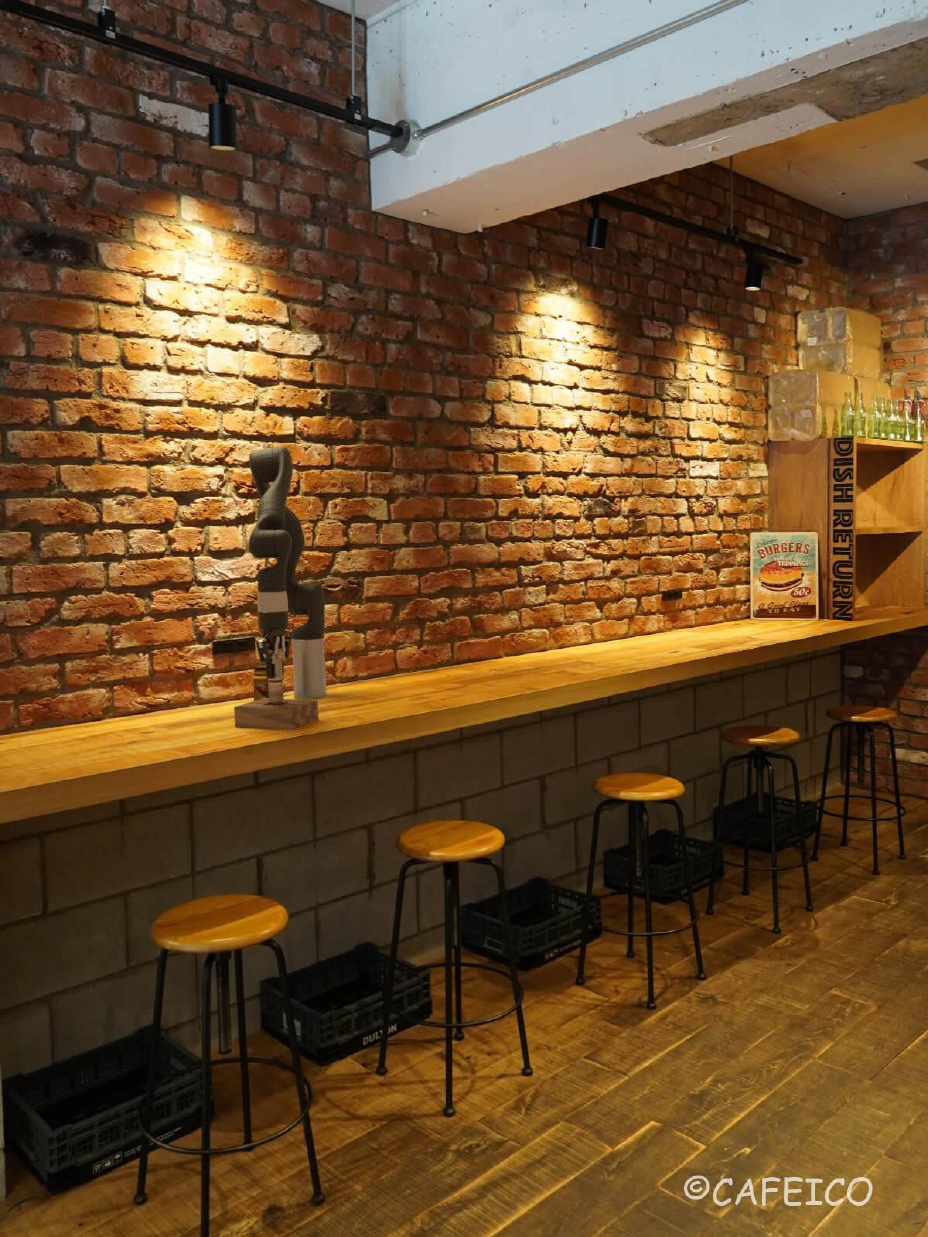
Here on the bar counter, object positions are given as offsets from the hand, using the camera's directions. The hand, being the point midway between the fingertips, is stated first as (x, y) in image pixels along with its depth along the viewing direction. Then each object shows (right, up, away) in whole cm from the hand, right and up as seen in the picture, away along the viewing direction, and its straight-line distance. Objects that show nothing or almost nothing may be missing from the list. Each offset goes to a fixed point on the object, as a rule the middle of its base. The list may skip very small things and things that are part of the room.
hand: (275, 676), depth 264 cm
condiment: (-7, -10, +23) cm, 26 cm away
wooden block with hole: (0, -12, +1) cm, 12 cm away
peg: (0, -6, +1) cm, 6 cm away
